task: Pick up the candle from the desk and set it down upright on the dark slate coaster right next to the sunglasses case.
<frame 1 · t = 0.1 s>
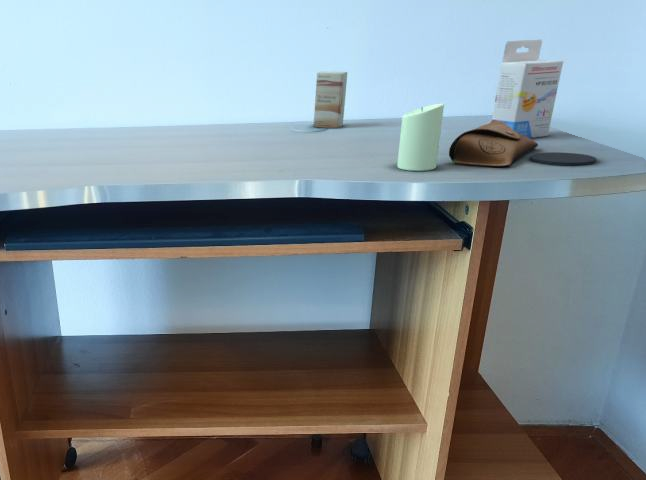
sunglasses case: (494, 157, 93), on the table
coaster: (562, 160, 88), on the table
cream medicine box: (328, 127, 128), on the table
candle: (416, 169, 87), on the table
ink box: (518, 138, 108), on the table
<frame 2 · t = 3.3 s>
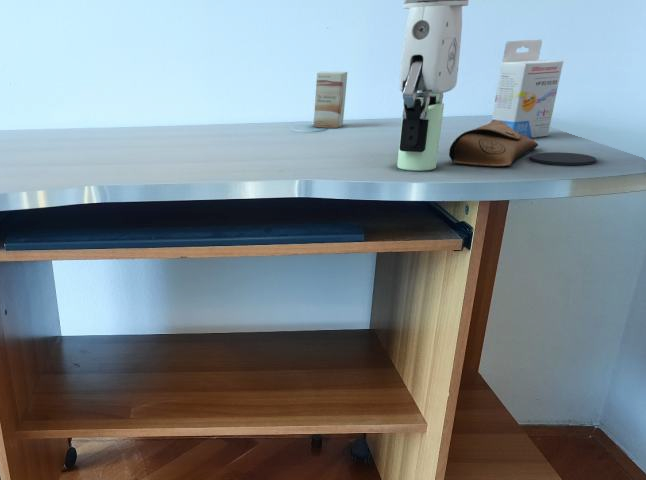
hand: (418, 146, 86), 3 cm above the table, tool pointing down, fingers closed on candle, 4 cm apart
candle: (416, 169, 87), on the table, touching gripper
everything else where it was.
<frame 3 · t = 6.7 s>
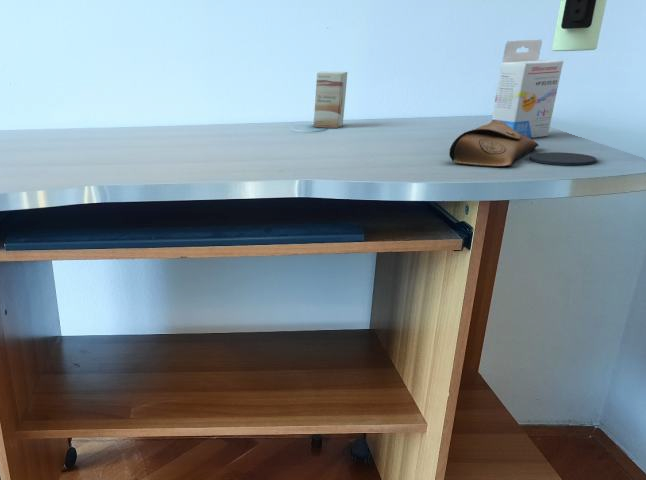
hand: (578, 26, 81), 17 cm above the table, tool pointing down, fingers closed on candle, 4 cm apart
candle: (573, 52, 82), point 14 cm above the table, touching gripper
everything else where it was.
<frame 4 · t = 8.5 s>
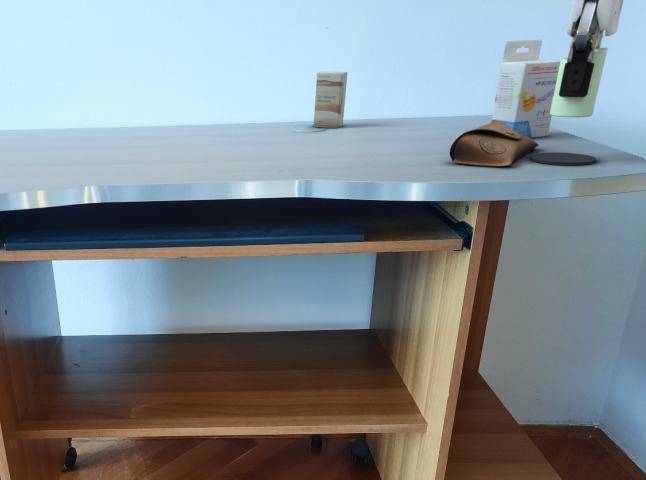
hand: (575, 93, 85), 9 cm above the table, tool pointing down, fingers closed on candle, 4 cm apart
candle: (570, 116, 86), point 6 cm above the table, touching gripper
everything else where it was.
when the fingers open (3 cm above the table, at t = 10.2 s): candle stays where it is, resting on coaster.
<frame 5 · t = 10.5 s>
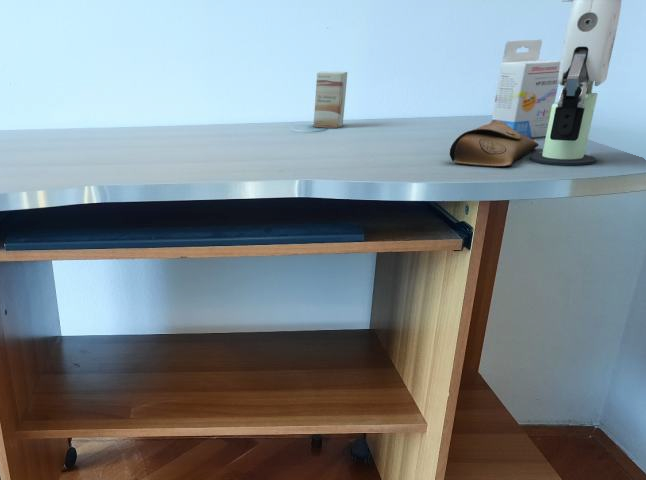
hand: (567, 134, 87), 3 cm above the table, tool pointing down, fingers open, 7 cm apart
candle: (561, 158, 88), resting on coaster
everything else where it was.
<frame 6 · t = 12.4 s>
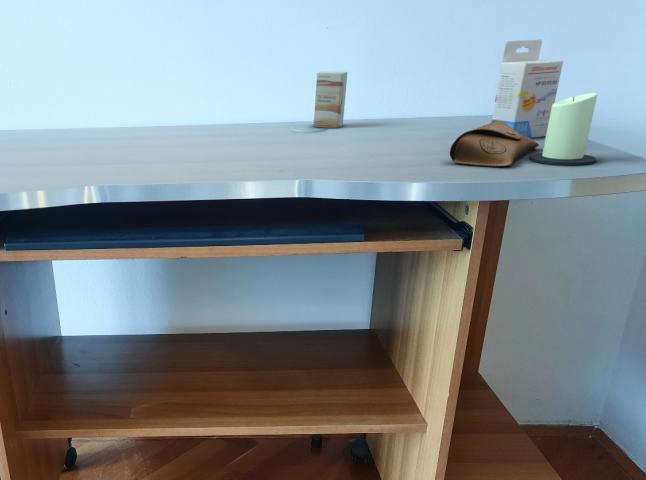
nothing on the table moved.
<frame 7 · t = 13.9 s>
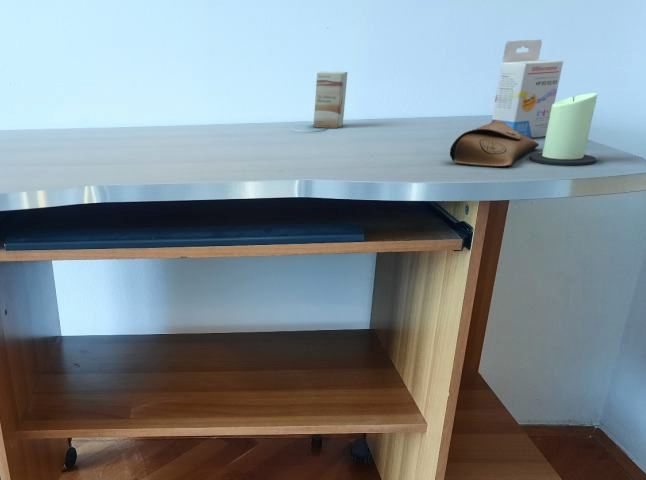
nothing on the table moved.
at the end: candle inside the target area (0.1 cm from its centre), resting on coaster; candle tilted 0°; candle 8.6 cm from the sunglasses case (horizontally) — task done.
